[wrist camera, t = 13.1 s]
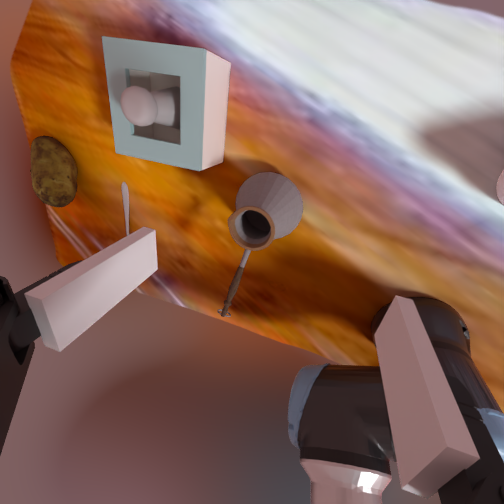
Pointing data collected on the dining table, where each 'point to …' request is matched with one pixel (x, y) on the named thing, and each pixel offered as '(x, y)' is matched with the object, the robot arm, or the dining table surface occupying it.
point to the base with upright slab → (500, 187)
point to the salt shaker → (151, 106)
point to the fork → (126, 205)
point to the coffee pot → (262, 217)
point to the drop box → (191, 101)
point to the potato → (53, 172)
